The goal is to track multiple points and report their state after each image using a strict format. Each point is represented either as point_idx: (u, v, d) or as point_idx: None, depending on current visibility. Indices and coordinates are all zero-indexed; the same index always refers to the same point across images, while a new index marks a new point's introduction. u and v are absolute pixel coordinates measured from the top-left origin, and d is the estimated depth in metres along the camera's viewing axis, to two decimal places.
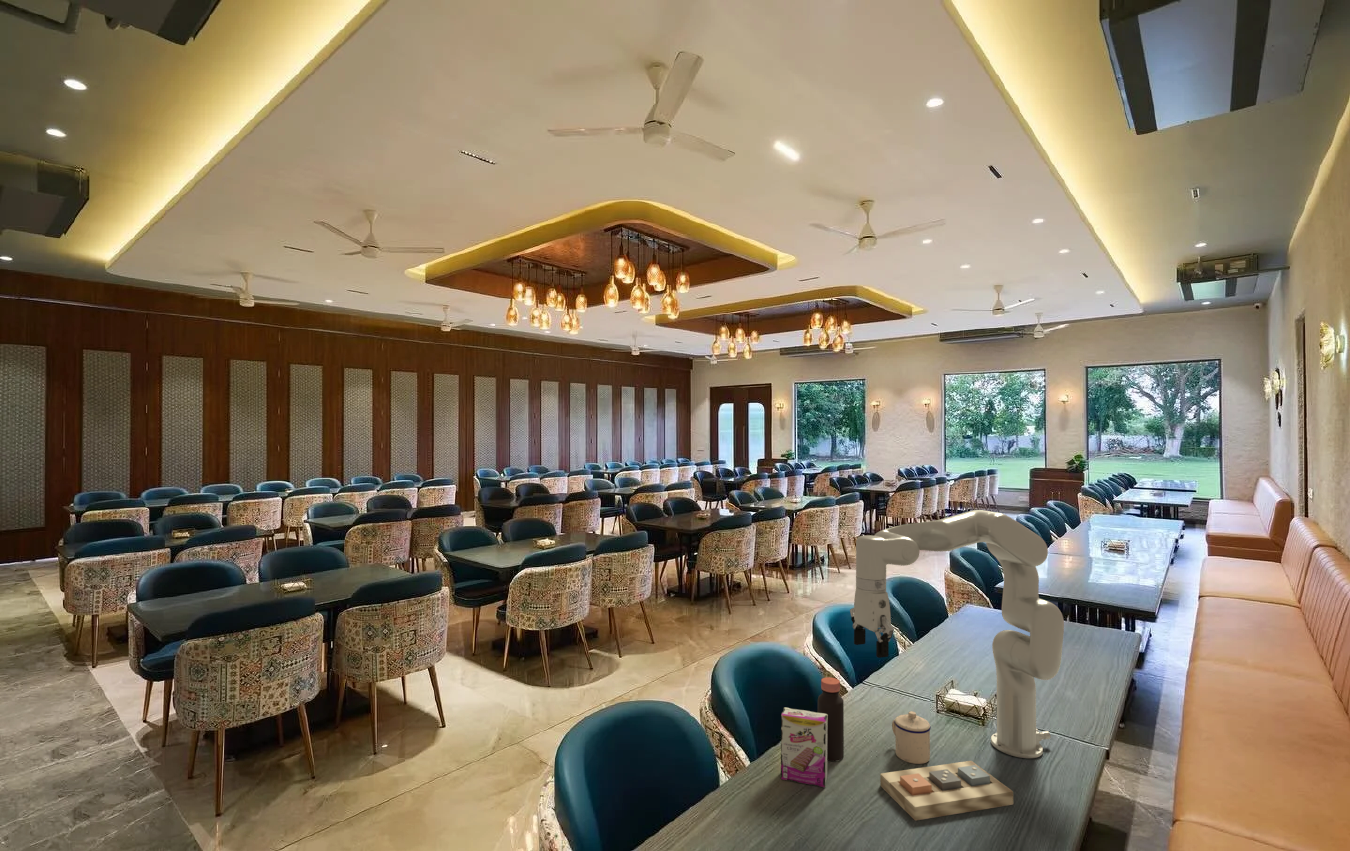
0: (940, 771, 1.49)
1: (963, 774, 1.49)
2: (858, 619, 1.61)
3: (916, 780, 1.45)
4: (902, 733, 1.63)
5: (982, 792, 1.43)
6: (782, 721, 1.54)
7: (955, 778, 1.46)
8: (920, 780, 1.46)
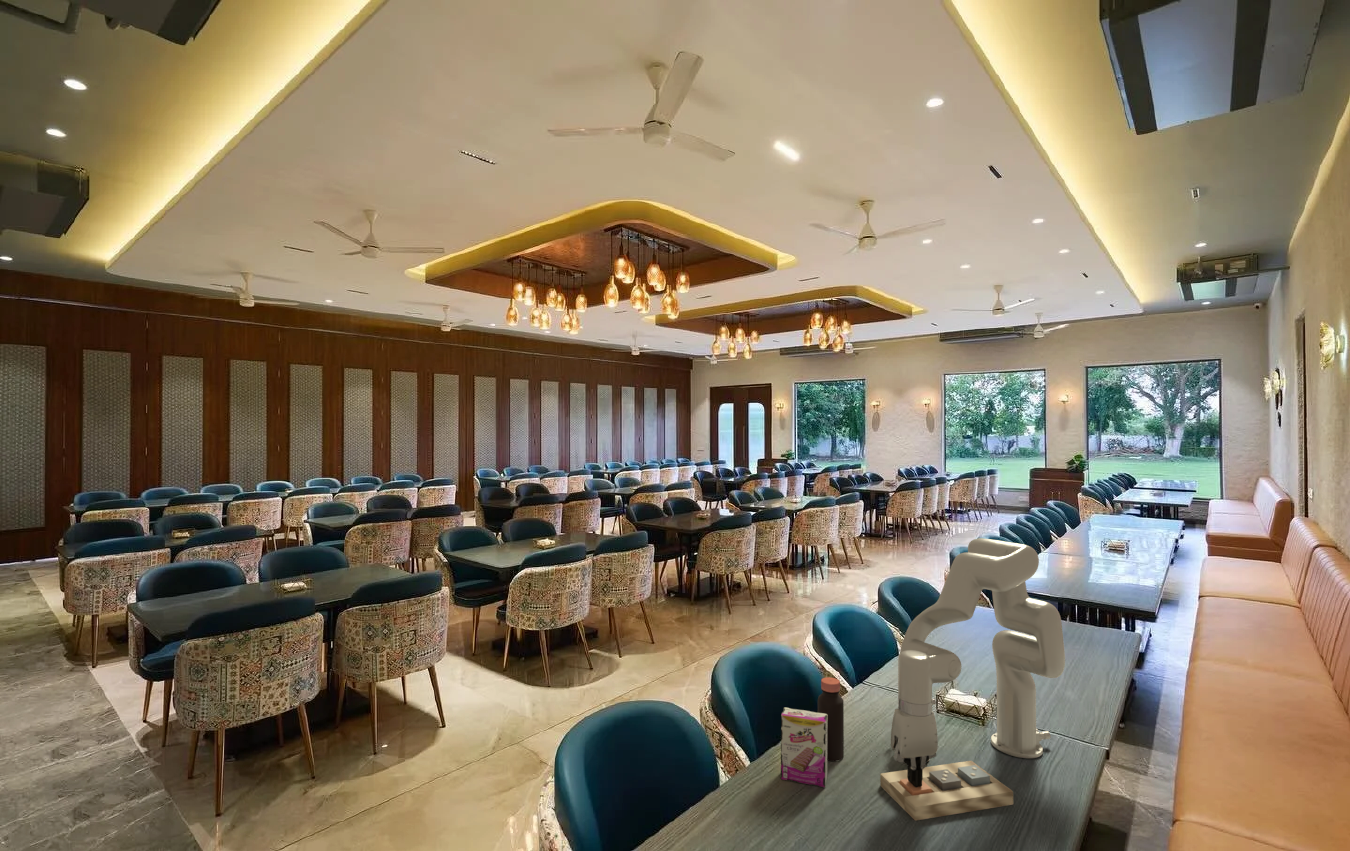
0: (940, 771, 1.49)
1: (963, 774, 1.49)
2: (912, 751, 1.43)
3: None
4: None
5: (982, 792, 1.43)
6: (782, 721, 1.54)
7: (955, 778, 1.46)
8: None
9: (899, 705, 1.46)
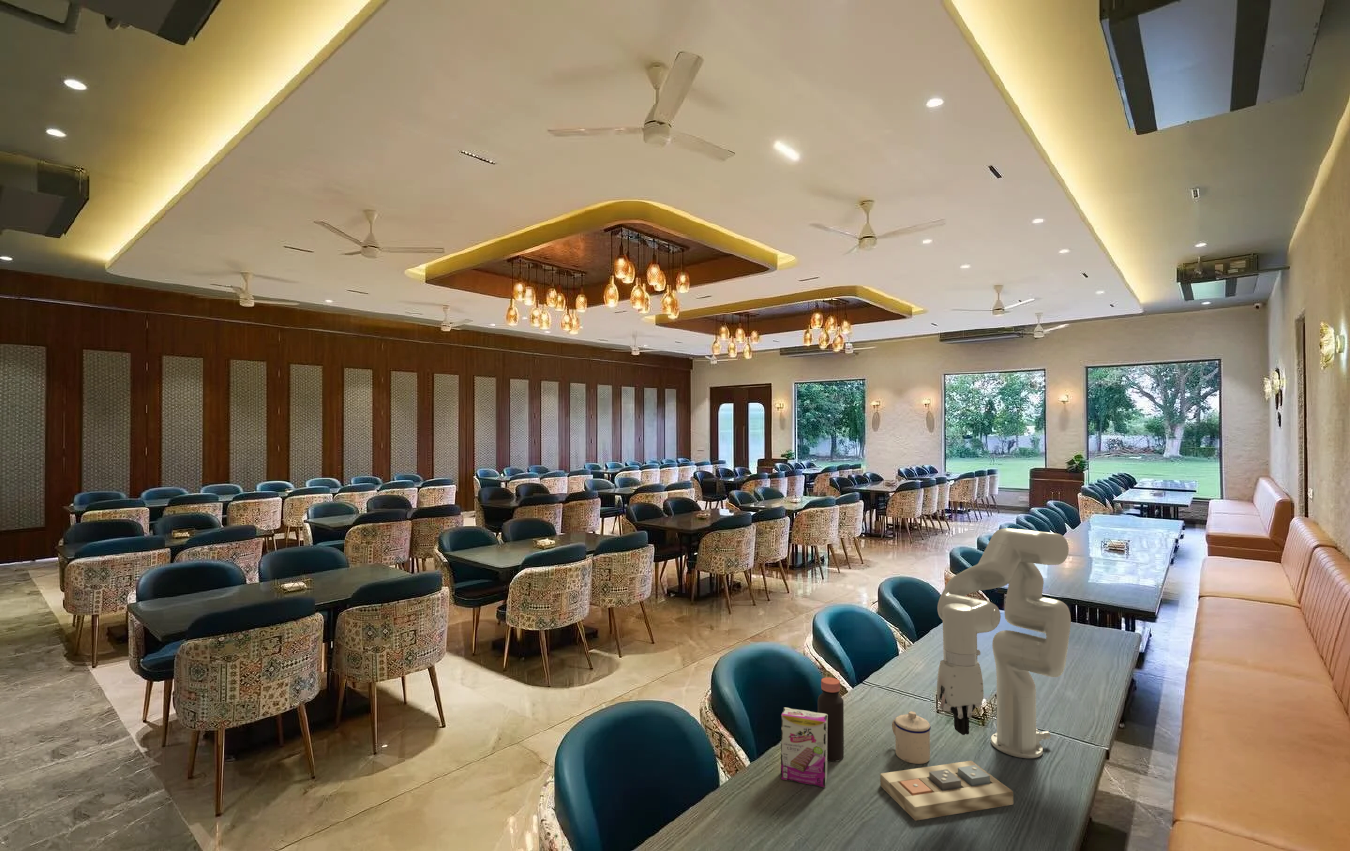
0: (940, 771, 1.49)
1: (963, 774, 1.49)
2: (958, 700, 1.46)
3: (916, 785, 1.45)
4: (902, 733, 1.63)
5: (982, 792, 1.43)
6: (782, 721, 1.54)
7: (955, 778, 1.46)
8: (920, 785, 1.46)
9: (944, 656, 1.49)
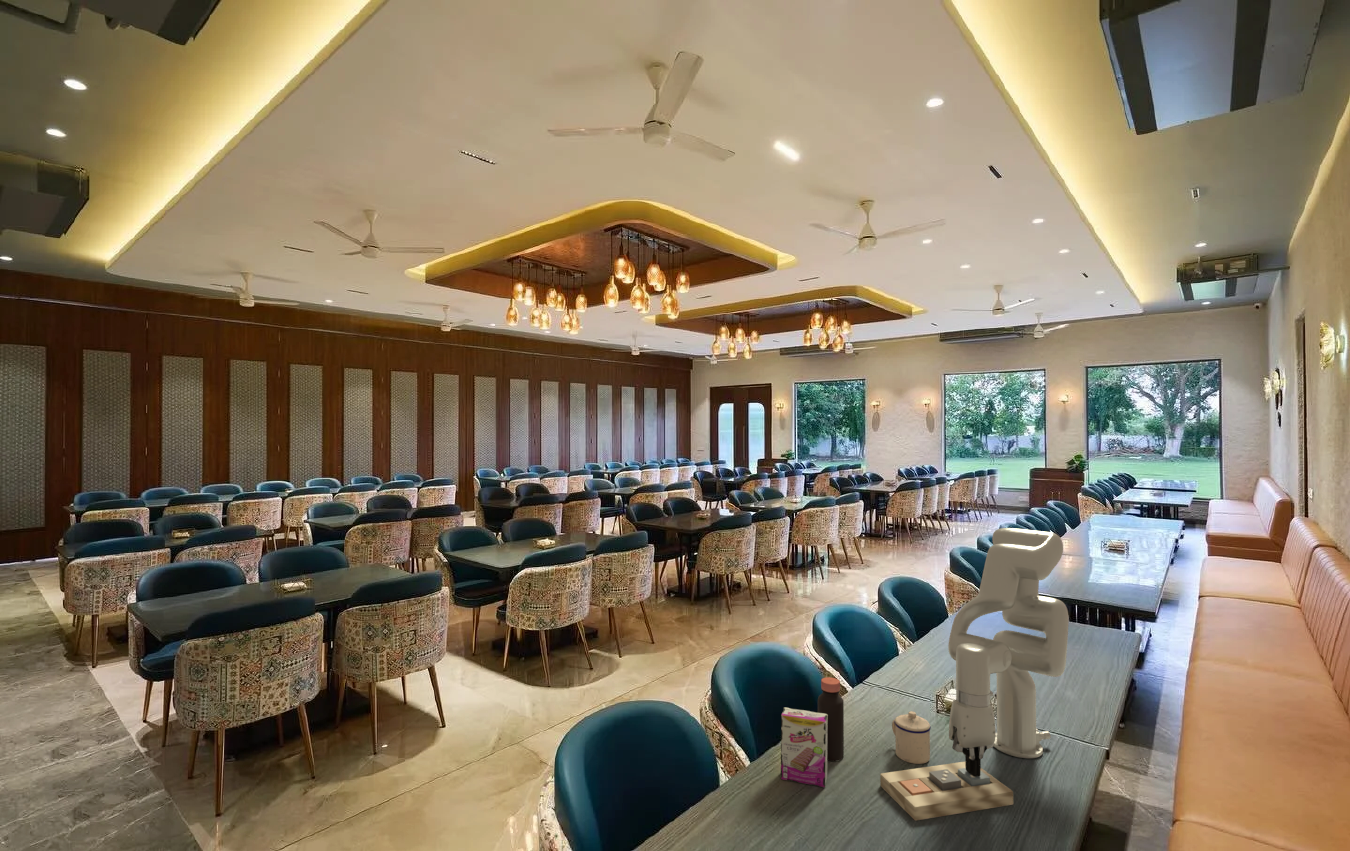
0: (940, 771, 1.49)
1: (963, 775, 1.49)
2: (971, 741, 1.47)
3: (916, 785, 1.45)
4: (902, 733, 1.63)
5: (982, 792, 1.43)
6: (782, 721, 1.54)
7: (955, 778, 1.46)
8: (920, 785, 1.46)
9: (957, 696, 1.49)
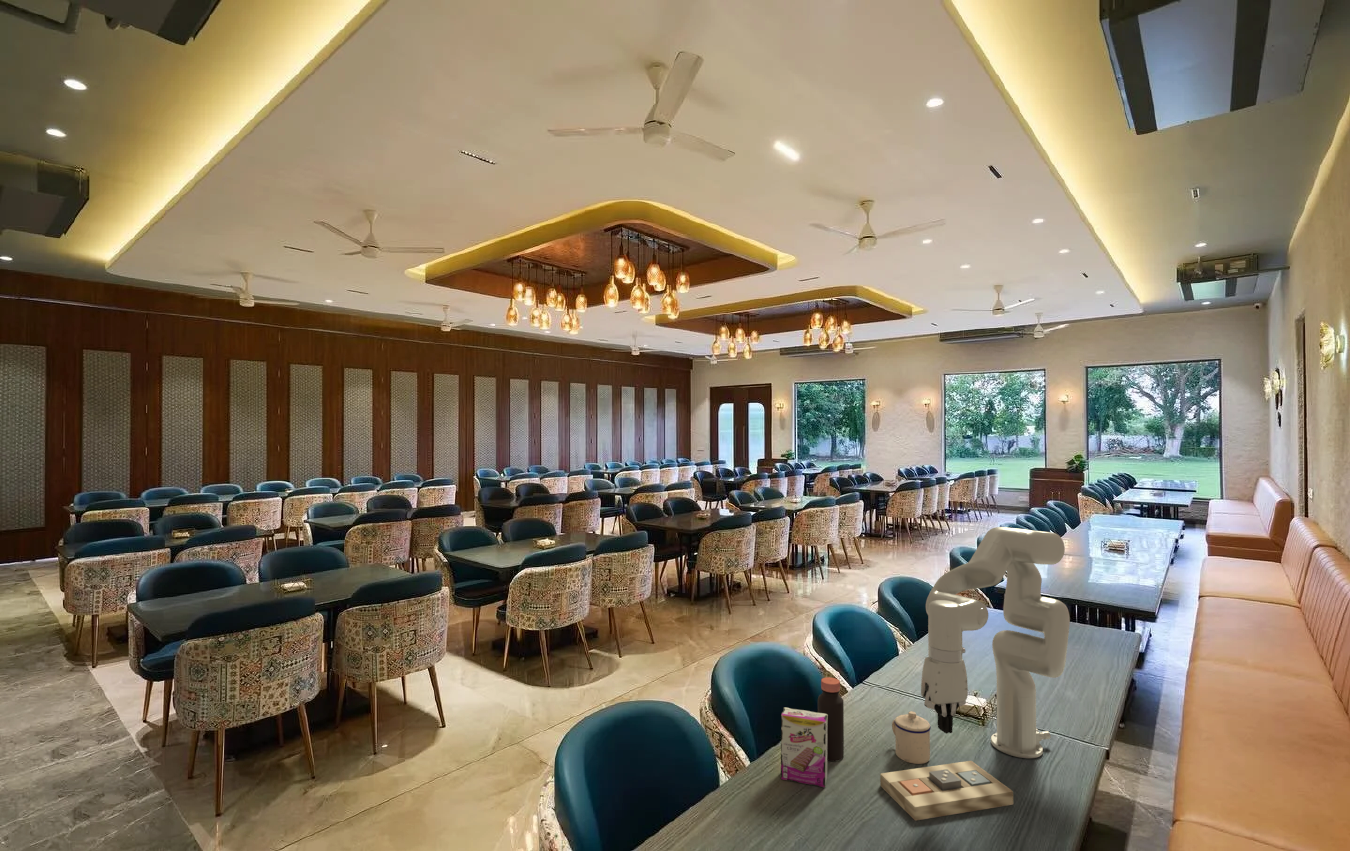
0: (940, 771, 1.49)
1: (963, 779, 1.49)
2: (943, 698, 1.45)
3: (916, 785, 1.45)
4: (902, 733, 1.63)
5: (982, 792, 1.43)
6: (782, 721, 1.54)
7: (955, 778, 1.46)
8: (920, 785, 1.46)
9: (929, 653, 1.48)
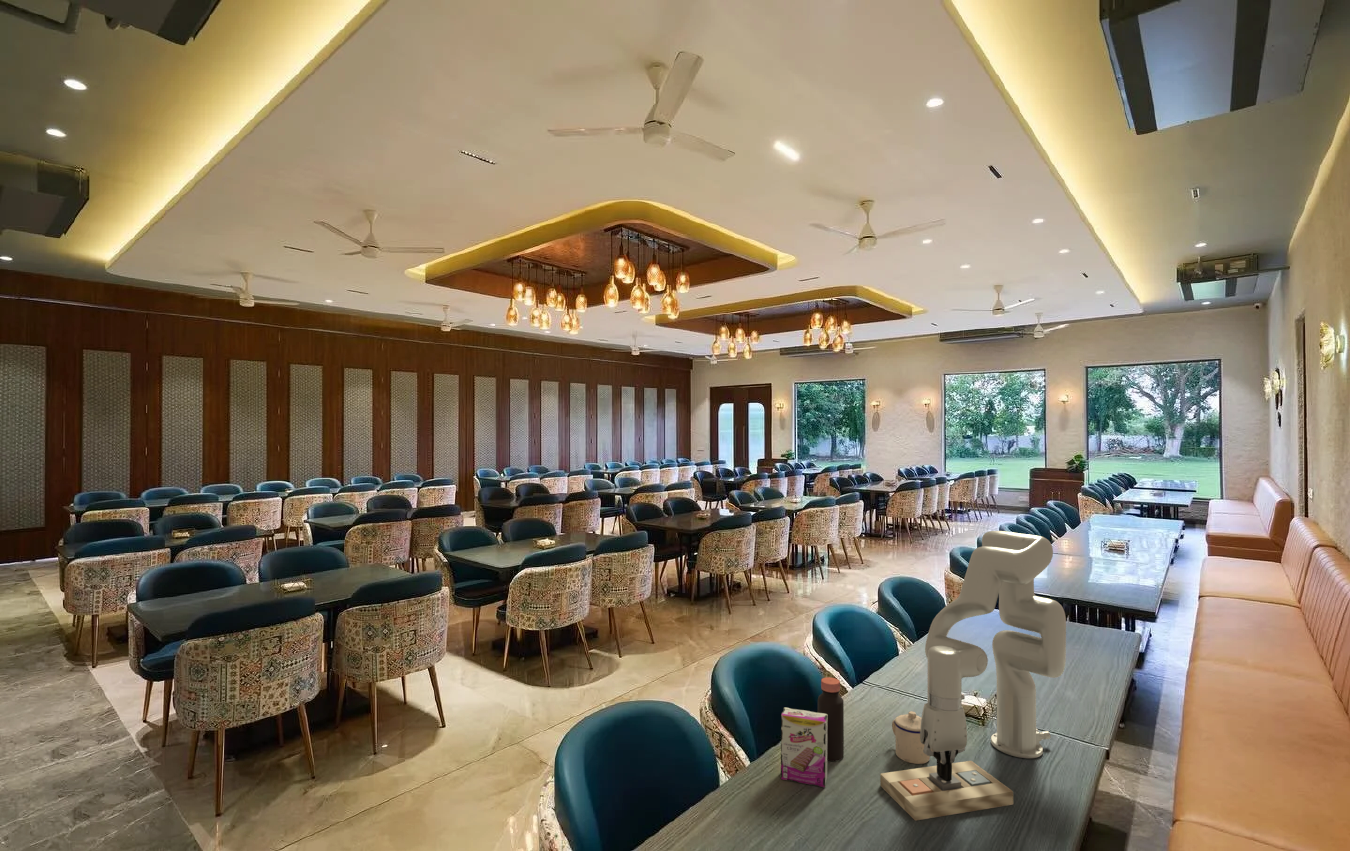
0: None
1: (963, 779, 1.49)
2: (942, 745, 1.45)
3: (916, 785, 1.45)
4: (902, 733, 1.63)
5: (982, 792, 1.43)
6: (782, 721, 1.54)
7: (955, 780, 1.46)
8: (920, 785, 1.46)
9: (929, 700, 1.48)
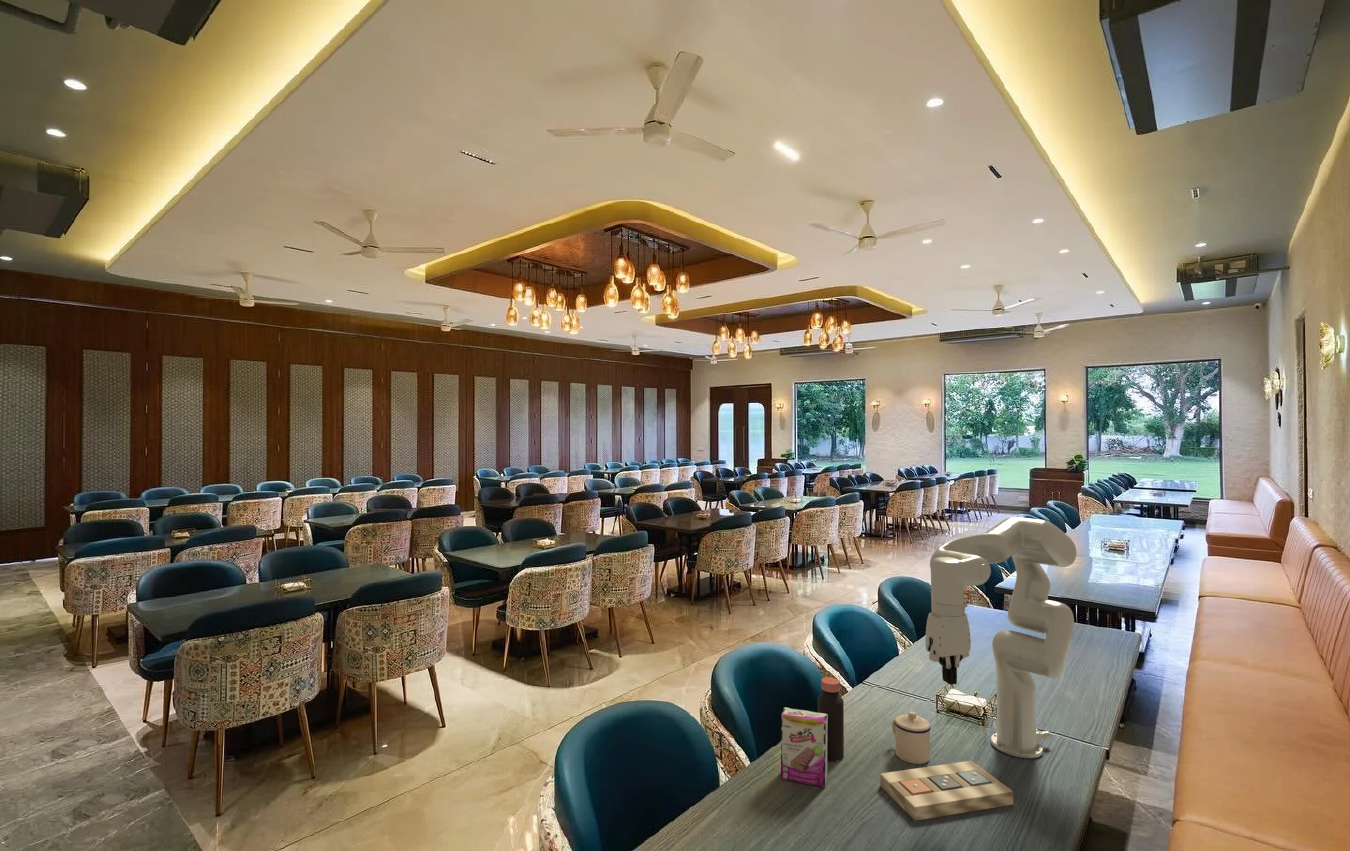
0: (940, 776, 1.49)
1: (963, 779, 1.49)
2: (947, 651, 1.50)
3: (916, 785, 1.45)
4: (902, 733, 1.63)
5: (982, 792, 1.43)
6: (782, 721, 1.54)
7: (955, 784, 1.46)
8: (920, 785, 1.46)
9: (933, 608, 1.52)
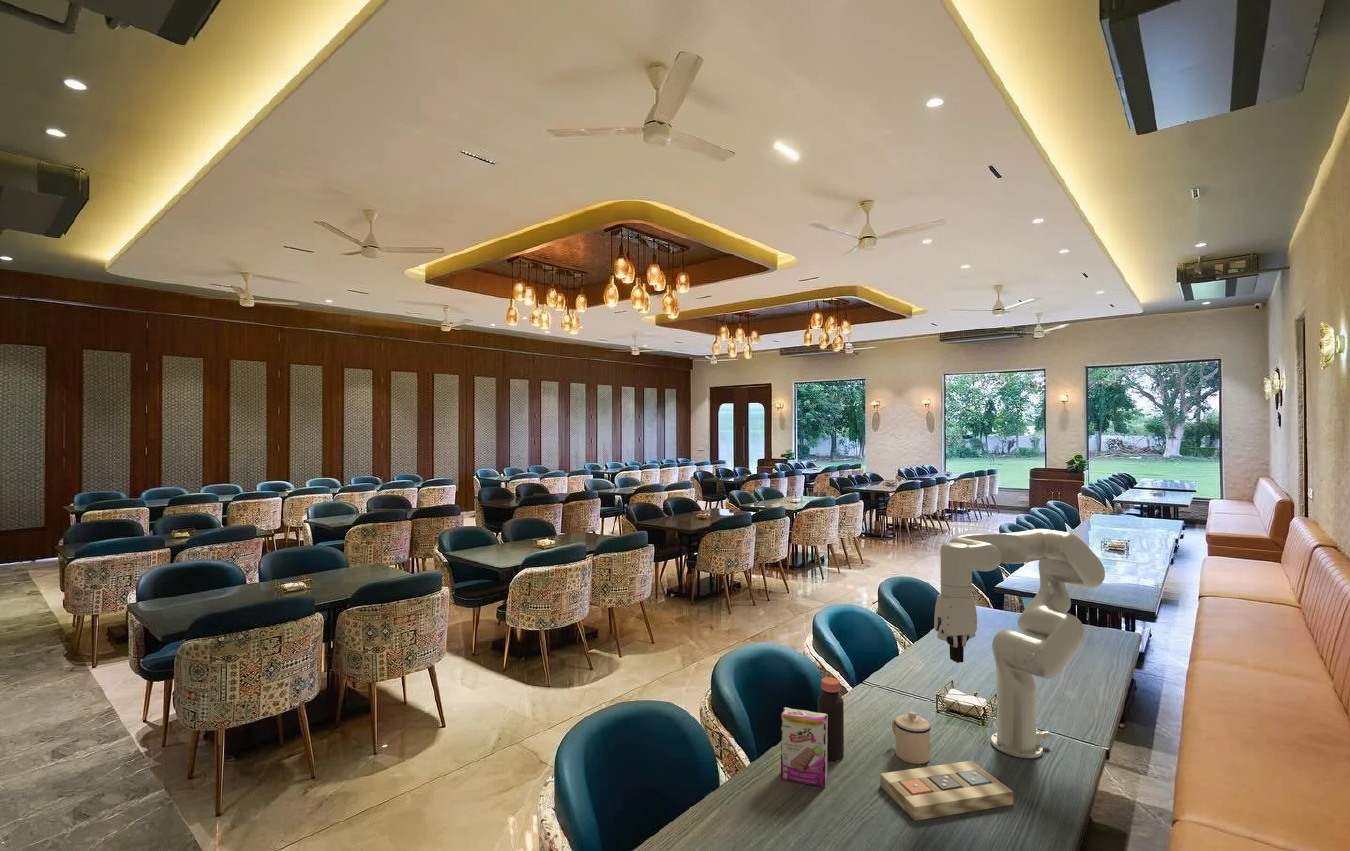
0: (940, 776, 1.49)
1: (963, 779, 1.49)
2: (954, 630, 1.59)
3: (916, 785, 1.45)
4: (902, 733, 1.63)
5: (982, 792, 1.43)
6: (782, 721, 1.54)
7: (955, 784, 1.46)
8: (920, 785, 1.46)
9: (942, 590, 1.61)
